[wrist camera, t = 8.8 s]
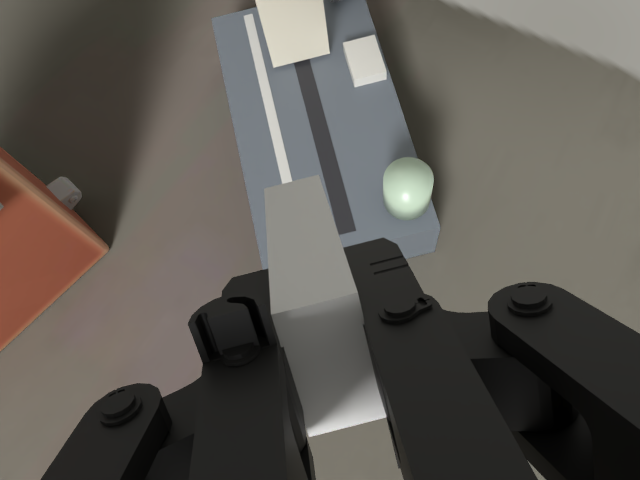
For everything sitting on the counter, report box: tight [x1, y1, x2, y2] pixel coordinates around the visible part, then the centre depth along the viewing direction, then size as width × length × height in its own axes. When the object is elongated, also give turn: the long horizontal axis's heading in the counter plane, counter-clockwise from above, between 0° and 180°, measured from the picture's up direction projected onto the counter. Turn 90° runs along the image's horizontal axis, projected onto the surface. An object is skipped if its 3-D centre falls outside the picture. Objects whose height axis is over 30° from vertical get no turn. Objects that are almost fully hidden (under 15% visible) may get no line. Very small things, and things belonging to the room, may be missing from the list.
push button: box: [383, 157, 434, 220], centre depth 32 cm, size 3×3×2 cm
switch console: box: [211, 0, 440, 270], centre depth 38 cm, size 18×10×5 cm, turn 14°
